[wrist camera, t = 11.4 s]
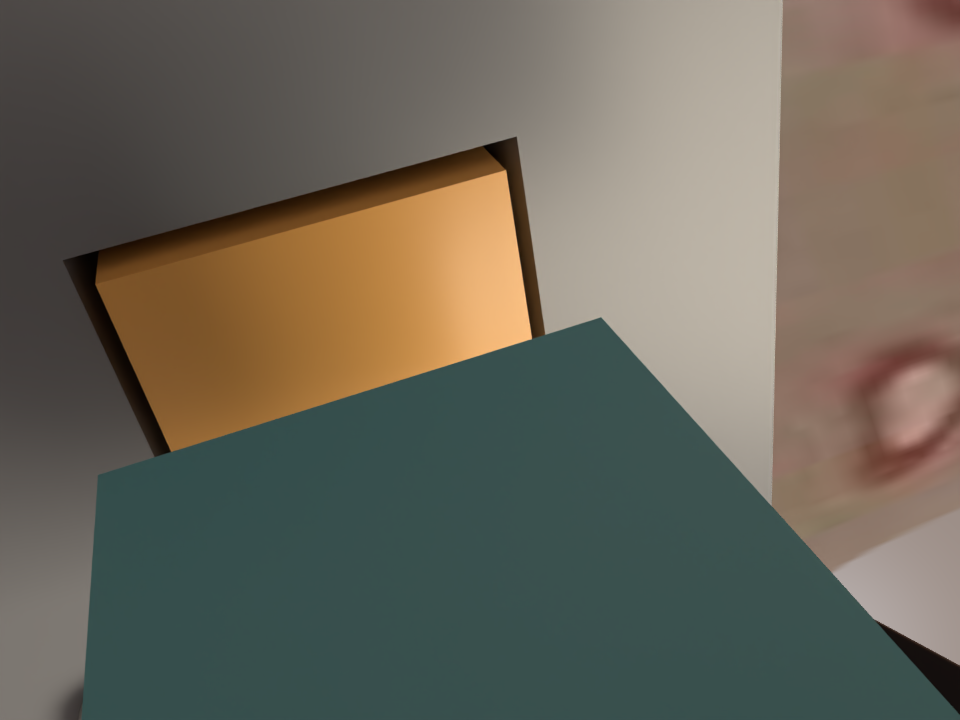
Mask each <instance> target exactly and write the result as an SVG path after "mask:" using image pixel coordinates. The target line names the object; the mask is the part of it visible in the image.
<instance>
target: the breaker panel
mask: <svg viewBox="0 0 960 720" xmlns="http://www.w3.org/2000/svg"><path fill="white" fill-rule="evenodd" d="M782 13H783V0H0V720H81V719H82V705H83V690H84V675H85V660H86V645H87V630H88V616H89V601H90V586H91V571H92V556H93V542H94V527H95V512H96V497H97V482H98V475H99V474H103V473H106V472H109V471H112V470H115V469H118V468H122V467H125V466H128V465H131V464H134V463H138V462H141V461H144V460H147V459H150V458H154V457H157V456H160V455H163V454H166V453H170V452H171V450H170V448H169V446H168V444H167V442H166V439H165V437H164V435H163V433H162V430H161V428H160V426H159V424H158V422H157V419H156V417H155V415H154V413H153V411H152V408H151V406H150V404H149V402H148V400H147V397H146V395H145V393H144V391H143V389H142V386H141V384H140V382H139V380H138V377H137V375H136V373H135V371H134V369H133V366H132V364H131V362H130V360H129V358H128V355H127V353H126V351H125V349H124V347H123V344H122V342H121V340H120V338H119V335H118V333H117V331H116V329H115V327H114V324H113V322H112V320H111V318H110V316H109V313H108V311H107V309H106V307H105V305H104V302H103V300H102V298H101V296H100V294H99V291H98V289H97V287H96V285H95V283H96V274H97V264H98V255H99V250H102V249H105V248H109V247H113V246H116V245H120V244H124V243H127V242H131V241H135V240H138V239H142V238H146V237H149V236H153V235H157V234H160V233H164V232H168V231H171V230H175V229H179V228H182V227H186V226H190V225H193V224H197V223H201V222H204V221H208V220H212V219H215V218H219V217H223V216H226V215H230V214H234V213H237V212H241V211H245V210H249V209H252V208H256V207H260V206H263V205H267V204H271V203H274V202H278V201H282V200H285V199H289V198H293V197H296V196H300V195H304V194H307V193H311V192H315V191H318V190H322V189H326V188H329V187H333V186H337V185H340V184H344V183H348V182H351V181H355V180H359V179H362V178H366V177H370V176H373V175H377V174H381V173H384V172H388V171H392V170H395V169H399V168H403V167H406V166H410V165H414V164H417V163H421V162H425V161H428V160H432V159H436V158H439V157H443V156H447V155H451V154H454V153H458V152H462V151H465V150H469V149H473V148H476V147H480V146H483V147H484V148H485V149H486V150H487V151H488V152H489V153H490V154H491V155H492V156H493V157H494V158H495V159H496V160H497V161H498V162H499V163H500V165H501V166H502V167H503V168H504V169H505V170H506V173H507V179H508V186H509V192H510V199H511V205H512V212H513V218H514V225H515V231H516V238H517V244H518V251H519V257H520V264H521V270H522V277H523V283H524V290H525V296H526V303H527V309H528V316H529V322H530V329H531V335H532V339H533V338H537V337H540V336H543V335H546V334H549V333H553V332H556V331H559V330H562V329H565V328H568V327H572V326H575V325H578V324H581V323H584V322H588V321H591V320H594V319H597V318H600V317H602V319H603V320H604V321H605V322H606V323H607V324H608V325H609V326H610V327H611V329H612V330H613V331H614V332H615V333H616V334H617V335H618V336H619V337H620V339H621V340H622V341H623V342H624V343H625V344H626V345H627V346H628V347H629V349H630V350H631V351H632V352H633V353H634V354H635V355H636V356H637V357H638V359H639V360H640V361H641V362H642V363H643V364H644V365H645V366H646V367H647V368H648V370H649V371H650V372H651V373H652V374H653V375H654V376H655V377H656V378H657V380H658V381H659V382H660V383H661V384H662V385H663V386H664V387H665V388H666V390H667V391H668V392H669V393H670V394H671V395H672V396H673V397H674V398H675V400H676V401H677V402H678V403H679V404H680V405H681V406H682V407H683V408H684V410H685V411H686V412H687V413H688V414H689V415H690V416H691V417H692V418H693V420H694V421H695V422H696V423H697V424H698V425H699V426H700V427H701V428H702V429H703V431H704V432H705V433H706V434H707V435H708V436H709V437H710V438H711V439H712V441H713V442H714V443H715V444H716V445H717V446H718V447H719V448H720V449H721V451H722V452H723V453H724V454H725V455H726V456H727V457H728V458H729V459H730V461H731V462H732V463H733V464H734V465H735V466H736V467H737V468H738V469H739V471H740V472H741V473H742V474H743V475H744V476H745V477H746V478H747V479H748V481H749V482H750V483H751V484H752V485H753V486H754V487H755V488H756V489H757V491H758V492H759V493H760V494H761V495H762V496H763V497H764V498H765V499H766V500H767V502H768V503H769V504H770V505H771V506H772V463H773V418H774V373H775V328H776V283H777V238H778V193H779V148H780V103H781V58H782Z"/></svg>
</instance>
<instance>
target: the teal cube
mask: <svg viewBox="0 0 960 720" xmlns="http://www.w3.org/2000/svg"><path fill="white" fill-rule="evenodd" d="M81 720H960V715H959V713H958V712H957V711H956V710H955V709H954V708H953V707H952V706H951V705H950V703H949V702H948V701H947V700H946V699H945V698H944V697H943V696H942V695H941V694H940V692H939V691H938V690H937V689H936V688H935V687H934V686H933V685H932V684H931V682H930V681H929V680H928V679H927V678H926V677H925V676H924V675H923V674H922V672H921V671H920V670H919V669H918V668H917V667H916V666H915V665H914V664H913V662H912V661H911V660H910V659H909V658H908V657H907V656H906V655H905V654H904V652H903V651H902V650H901V649H900V648H899V647H898V646H897V645H896V644H895V642H894V641H893V640H892V639H891V638H890V637H889V636H888V635H887V634H886V633H885V631H884V630H883V629H882V628H881V627H880V626H879V625H878V624H877V623H876V621H875V620H874V619H873V618H872V617H871V616H870V615H869V614H868V613H867V611H866V610H865V609H864V608H863V607H862V606H861V605H860V604H859V603H858V602H857V600H856V599H855V598H854V597H853V596H852V595H851V594H850V593H849V591H848V590H847V589H846V588H845V587H844V586H843V585H842V584H841V583H840V581H839V580H837V578H836V577H835V576H834V575H833V574H832V573H831V571H830V570H829V569H828V568H827V567H826V566H825V565H824V564H823V563H822V562H821V560H820V559H819V558H818V557H817V556H816V555H815V554H814V553H813V552H812V550H811V549H810V548H809V547H808V546H807V545H806V544H805V543H804V542H803V540H802V539H801V538H800V537H799V536H798V535H797V534H796V533H795V532H794V530H793V529H792V528H791V527H790V526H789V525H788V524H787V523H786V522H785V520H784V519H783V518H782V517H781V516H780V515H779V514H778V513H777V512H776V510H775V509H774V508H773V507H772V506H771V505H770V504H769V503H768V502H767V500H766V499H765V498H764V497H763V496H762V495H761V494H760V493H759V492H758V491H757V489H756V488H755V487H754V486H753V485H752V484H751V483H750V482H749V481H748V479H747V478H746V477H745V476H744V475H743V474H742V473H741V472H740V471H739V469H738V468H737V467H736V466H735V465H734V464H733V463H732V462H731V461H730V459H729V458H728V457H727V456H726V455H725V454H724V453H723V452H722V451H721V449H720V448H719V447H718V446H717V445H716V444H715V443H714V442H713V441H712V439H711V438H710V437H709V436H708V435H707V434H706V433H705V432H704V431H703V429H702V428H701V427H700V426H699V425H698V424H697V423H696V422H695V421H694V420H693V418H692V417H691V416H690V415H689V414H688V413H687V412H686V411H685V410H684V408H683V407H682V406H681V405H680V404H679V403H678V402H677V401H676V400H675V398H674V397H673V396H672V395H671V394H670V393H669V392H668V391H667V390H666V388H665V387H664V386H663V385H662V384H661V383H660V382H659V381H658V380H657V378H656V377H655V376H654V375H653V374H652V373H651V372H650V371H649V370H648V368H647V367H646V366H645V365H644V364H643V363H642V362H641V361H640V360H639V359H638V357H637V356H636V355H635V354H634V353H633V352H632V351H631V350H630V349H629V347H628V346H627V345H626V344H625V343H624V342H623V341H622V340H621V339H620V337H619V336H618V335H617V334H616V333H615V332H614V331H613V330H612V329H611V327H610V326H609V325H608V324H607V323H606V322H605V321H604V320H603V319H602V317H600V318H597V319H594V320H591V321H588V322H584V323H581V324H578V325H575V326H572V327H568V328H565V329H562V330H559V331H556V332H553V333H549V334H546V335H543V336H540V337H537V338H533V339H530V340H527V341H524V342H521V343H517V344H514V345H511V346H508V347H505V348H501V349H498V350H495V351H492V352H489V353H485V354H482V355H479V356H476V357H473V358H470V359H466V360H463V361H460V362H457V363H454V364H450V365H447V366H444V367H441V368H438V369H434V370H431V371H428V372H425V373H422V374H418V375H415V376H412V377H409V378H406V379H403V380H399V381H396V382H393V383H390V384H387V385H383V386H380V387H377V388H374V389H371V390H367V391H364V392H361V393H358V394H355V395H351V396H348V397H345V398H342V399H339V400H335V401H332V402H329V403H326V404H323V405H320V406H316V407H313V408H310V409H307V410H304V411H300V412H297V413H294V414H291V415H288V416H284V417H281V418H278V419H275V420H272V421H268V422H265V423H262V424H259V425H256V426H253V427H249V428H246V429H243V430H240V431H237V432H233V433H230V434H227V435H224V436H221V437H217V438H214V439H211V440H208V441H205V442H201V443H198V444H195V445H192V446H189V447H185V448H182V449H179V450H176V451H173V452H170V453H166V454H163V455H160V456H157V457H154V458H150V459H147V460H144V461H141V462H138V463H134V464H131V465H128V466H125V467H122V468H118V469H115V470H112V471H109V472H106V473H103V474H99V475H98V482H97V497H96V512H95V527H94V542H93V556H92V571H91V586H90V601H89V616H88V630H87V645H86V660H85V675H84V690H83V705H82V719H81Z"/></svg>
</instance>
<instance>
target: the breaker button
mask: <svg viewBox="0 0 960 720" xmlns="http://www.w3.org/2000/svg"><path fill="white" fill-rule="evenodd" d="M95 285H96V287H97V289H98V291H99V294H100V296H101V298H102V300H103V302H104V305H105V307H106V309H107V311H108V313H109V316H110V318H111V320H112V322H113V324H114V327H115V329H116V331H117V333H118V335H119V338H120V340H121V342H122V344H123V347H124V349H125V351H126V353H127V355H128V358H129V360H130V362H131V364H132V366H133V369H134V371H135V373H136V375H137V377H138V380H139V382H140V384H141V386H142V389H143V391H144V393H145V395H146V397H147V400H148V402H149V404H150V406H151V408H152V411H153V413H154V415H155V417H156V419H157V422H158V424H159V426H160V428H161V430H162V433H163V435H164V437H165V439H166V442H167V444H168V446H169V448H170V450H171V452H173V451H176V450H179V449H182V448H185V447H189V446H192V445H195V444H198V443H201V442H205V441H208V440H211V439H214V438H217V437H221V436H224V435H227V434H230V433H233V432H237V431H240V430H243V429H246V428H249V427H253V426H256V425H259V424H262V423H265V422H268V421H272V420H275V419H278V418H281V417H284V416H288V415H291V414H294V413H297V412H300V411H304V410H307V409H310V408H313V407H316V406H320V405H323V404H326V403H329V402H332V401H335V400H339V399H342V398H345V397H348V396H351V395H355V394H358V393H361V392H364V391H367V390H371V389H374V388H377V387H380V386H383V385H387V384H390V383H393V382H396V381H399V380H403V379H406V378H409V377H412V376H415V375H418V374H422V373H425V372H428V371H431V370H434V369H438V368H441V367H444V366H447V365H450V364H454V363H457V362H460V361H463V360H466V359H470V358H473V357H476V356H479V355H482V354H485V353H489V352H492V351H495V350H498V349H501V348H505V347H508V346H511V345H514V344H517V343H521V342H524V341H527V340H530V339H532V335H531V329H530V322H529V316H528V309H527V303H526V296H525V290H524V283H523V277H522V270H521V264H520V257H519V251H518V244H517V238H516V231H515V225H514V218H513V212H512V205H511V199H510V192H509V186H508V179H507V173H506V170H505V169H504V168H503V167H502V166H501V165H500V163H499V162H498V161H497V160H496V159H495V158H494V157H493V156H492V155H491V154H490V153H489V152H488V151H487V150H486V149H485V148H484V147H483V146H480V147H476V148H473V149H469V150H465V151H462V152H458V153H454V154H451V155H447V156H443V157H439V158H436V159H432V160H428V161H425V162H421V163H417V164H414V165H410V166H406V167H403V168H399V169H395V170H392V171H388V172H384V173H381V174H377V175H373V176H370V177H366V178H362V179H359V180H355V181H351V182H348V183H344V184H340V185H337V186H333V187H329V188H326V189H322V190H318V191H315V192H311V193H307V194H304V195H300V196H296V197H293V198H289V199H285V200H282V201H278V202H274V203H271V204H267V205H263V206H260V207H256V208H252V209H249V210H245V211H241V212H237V213H234V214H230V215H226V216H223V217H219V218H215V219H212V220H208V221H204V222H201V223H197V224H193V225H190V226H186V227H182V228H179V229H175V230H171V231H168V232H164V233H160V234H157V235H153V236H149V237H146V238H142V239H138V240H135V241H131V242H127V243H124V244H120V245H116V246H113V247H109V248H105V249H102V250H99V255H98V264H97V274H96V283H95Z"/></svg>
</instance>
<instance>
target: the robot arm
mask: <svg viewBox="0 0 960 720" xmlns="http://www.w3.org/2000/svg"><path fill="white" fill-rule="evenodd" d="M875 621H876V620H875ZM876 623H877V624H878V625H879V626H880V627H881V628H882V629H883V630H884V631H885V633H886V634H887V635H888V636H889V637H890V638H891V639H892V640H893V641H894V642H895V644H896V645H897V646H898V647H899V648H900V649H901V650H902V651H903V652H904V654H905V655H906V656H907V657H908V658H909V659H910V660H911V661H912V662H913V664H914V665H915V666H916V667H917V668H918V669H919V670H920V671H921V672H922V674H923V675H924V676H925V677H926V678H927V679H928V680H929V681H930V682H931V684H932V685H933V686H934V687H935V688H936V689H937V690H938V691H939V692H940V694H941V695H942V696H943V697H944V698H945V699H946V700H947V701H948V702H949V703H950V705H951V706H952V707H953V708H954V709H955V710H956V711H957V712H958V713H959V715H960V665H958V664H956V663H954V662H952V661H950V660H949V659H947V658H945V657H943V656H941V655H939V654H937V653H936V652H934V651H932V650H930V649H928V648H926V647H924V646H923V645H921V644H919V643H917V642H915V641H913V640H911V639H909V638H908V637H906V636H904V635H902V634H900V633H898V632H897V631H895V630H893V629H891V628H889V627H887V626H885V625H884V624H882V623H880V622H878V621H876Z"/></svg>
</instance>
